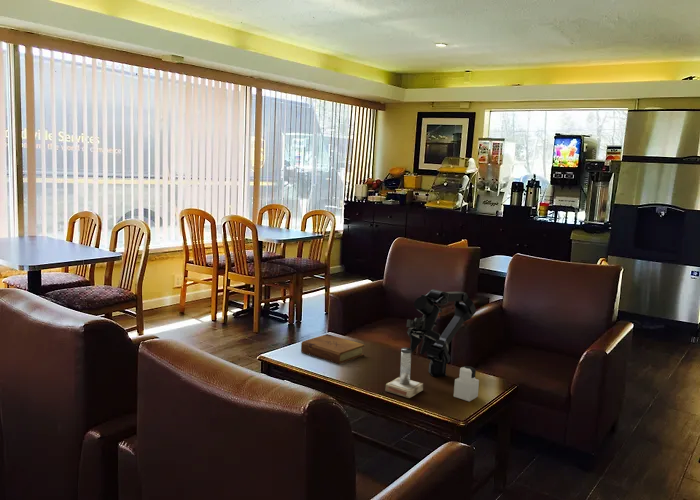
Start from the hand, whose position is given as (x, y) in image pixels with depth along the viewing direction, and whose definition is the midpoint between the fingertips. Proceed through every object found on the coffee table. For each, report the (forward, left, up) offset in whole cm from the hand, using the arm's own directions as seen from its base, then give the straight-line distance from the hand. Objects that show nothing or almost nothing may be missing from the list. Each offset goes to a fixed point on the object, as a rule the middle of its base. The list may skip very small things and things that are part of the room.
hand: (416, 353), depth 236 cm
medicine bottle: (-17, +15, -13) cm, 26 cm away
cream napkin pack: (+6, +8, -13) cm, 16 cm away
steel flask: (+6, +8, -10) cm, 14 cm away
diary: (+28, -39, -14) cm, 50 cm away
